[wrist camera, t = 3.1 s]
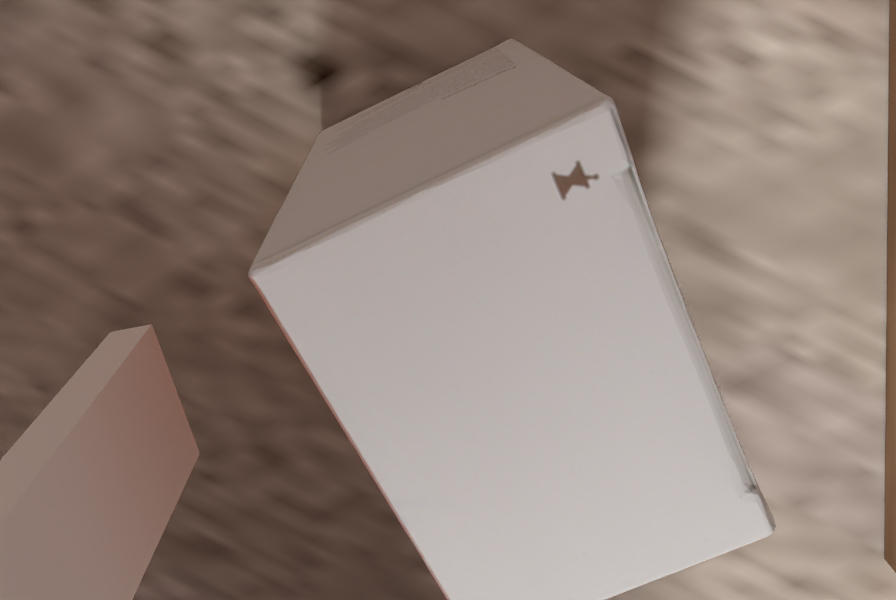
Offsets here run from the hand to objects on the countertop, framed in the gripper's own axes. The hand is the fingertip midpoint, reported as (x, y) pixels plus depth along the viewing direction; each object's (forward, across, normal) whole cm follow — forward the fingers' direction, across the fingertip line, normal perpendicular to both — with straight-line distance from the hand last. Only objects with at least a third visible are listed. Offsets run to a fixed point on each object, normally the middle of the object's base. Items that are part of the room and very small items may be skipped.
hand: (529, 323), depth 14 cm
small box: (+8, 0, 0) cm, 8 cm away
